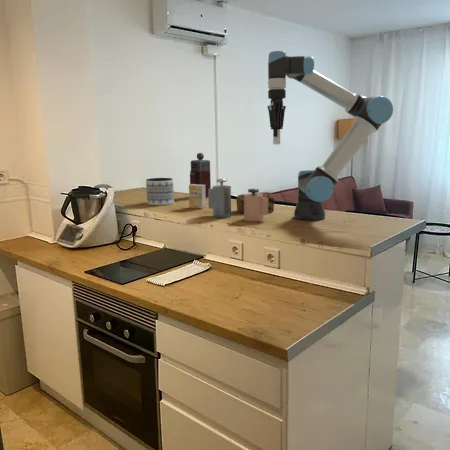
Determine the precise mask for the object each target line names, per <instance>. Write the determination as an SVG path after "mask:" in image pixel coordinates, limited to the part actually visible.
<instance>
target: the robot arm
mask: <svg viewBox="0 0 450 450" xmlns="http://www.w3.org/2000/svg"><path fill="white" fill-rule="evenodd" d="M267 68H268V69H267V73H268V74H267V77H268V80H267V84H268V86H267V88H268V91H267V94H268V95H267V98H268V99H270V104H269V105H267V110H268V117H269V125H270V129H271V130H272V132H273V133H272V135H273V136H272V144H273V145H281V130H283V128H284V122H285V121H284V120H285V112H286V108H287V106H286V105H284V100H283V99H286V91H287V90H286V88H287V86H286V85H287V81H286V77H287V78H289V79H291V80H292V79H293V80H295V81H297V82H299V83H301V84H302V85H304V86H305V87H308V89H310V90H312V91H314V92H316V93H317V94H320V95H321V96H323V97H324V98H326V99H328V100H330V101H331V102H333V103H335V104H337V105H338V106H340V107H341V108H343V109H344V111H345V112H346V113H347V114H349V115H351V116H352V117H354V122H353V124H352V125H351V127H350V128H349V129H348V130H347V131H346V133H345V135H344V136H343V137H342V139H340V141H339V142H338V144H337V146H336V147H335V148H334V149H333V151H332V152H331V153H330V155H329V156H328V158H326V160H325V161H324V162H323V164H322V165H320V166H316V168H315V169H314V170H313V169H311V170H310V169H309V170H299V172H298V175H297V202H296V206H295V208H294V211H293V217H294V219H297V220H301V221H302V220H303V221H317V220H318V221H319V220H323V219H325V218H326V211H325V208H324V204H323V202H325V201H327V200H329V199H330V198H331V197H332V195H333V193H334V189H335V186H336V185H338V183H339V175H340V174H341V173H342V171H344V170H345V168H346V167H347V165H348V164H349V162H350V161H351V160H352V159H353V158H354V156H355V154H356V153H357V152H358V150H359V149H360V148H361V147H362V145H364V143H365V141H366V140H367V139H368V137H369V136H370V135H371V133H376V132H377V131H378V130H379V129H380V127H381V126H382V125H383V124H385V123H388V121H389V120H390V119H391V118H392V116H393V113H394V106H393V103H392V101H391V100H390V99H389V98H388V97H386V96H384V95H375V96H371V97H369V96H368V97H367V96H363V95H361V94H360V93H353V92H352V91H350V90H349V89H346V88H345V87H344V86H341V85H339V84H338V83H336V82H335V81H333V80H331V79H330V78H327V77H325V76H324V75H322V74H321V73H319V72H317V71H316V70H315V60H314V57H313V56H312V55H310V56H309V55H305V56H304V55H296V56H287V53H286V51H284V50H273V51H269V54H268V61H267Z"/></svg>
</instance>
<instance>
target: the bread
mask: <svg viewBox="0 0 450 450" xmlns="http://www.w3.org/2000/svg"><path fill="white" fill-rule="evenodd" d="M245 194H246V193H244V194H243V193H242V194H238V195H237V196H236V210H237V212H239V213H240V214H241V215H242V214H243V215H244V195H245ZM255 194H263V197H264V198H268V213H271V212H274V210H275V208H274V207H275V198H274V196H273V194H272V193H271V192H267V191H266V192H265V191H263V192H257V193H255Z"/></svg>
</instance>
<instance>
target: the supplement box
mask: <svg viewBox="0 0 450 450" xmlns="http://www.w3.org/2000/svg"><path fill="white" fill-rule="evenodd" d="M188 203H189V204H188V205H189V206H188V207H189V209H198V208H199V209H200V210H201V209H202V210H203V209H205V208H206V207H207V206H206V204H207V203H206V198H205V185H198V184H191V185H190V184H188Z"/></svg>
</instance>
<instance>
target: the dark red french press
mask: <svg viewBox="0 0 450 450" xmlns="http://www.w3.org/2000/svg"><path fill="white" fill-rule="evenodd" d="M204 156H205V155H204V153H203V152H198V153H197V154H196V158H197V159H193V160H192V159H191V160H190V172H189V185H191V184H198V185H205V197H206V198H208V189H212V187H211V161H210V160H209V159H204Z"/></svg>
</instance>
